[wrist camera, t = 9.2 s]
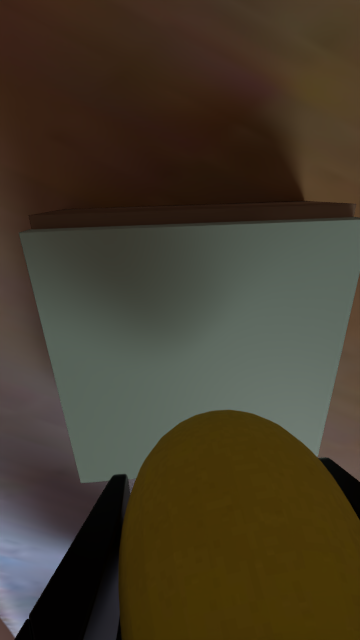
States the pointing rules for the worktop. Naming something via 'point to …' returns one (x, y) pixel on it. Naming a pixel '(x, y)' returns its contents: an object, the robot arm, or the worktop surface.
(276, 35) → the worktop surface
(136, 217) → the tray
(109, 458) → the lid
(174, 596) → the lemon
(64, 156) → the worktop surface
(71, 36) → the worktop surface
